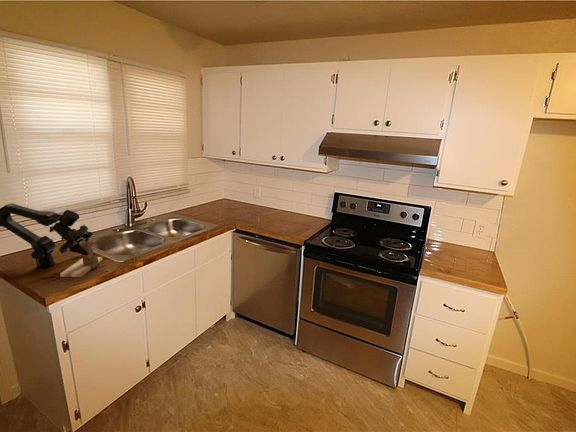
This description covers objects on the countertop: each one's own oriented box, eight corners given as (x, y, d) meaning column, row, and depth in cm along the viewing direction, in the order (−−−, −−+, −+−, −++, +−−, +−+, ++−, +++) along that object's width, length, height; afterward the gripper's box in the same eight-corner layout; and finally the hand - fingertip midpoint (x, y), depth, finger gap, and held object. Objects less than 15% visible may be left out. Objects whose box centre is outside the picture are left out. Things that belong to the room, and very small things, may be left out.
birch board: (60, 276, 153) (59, 273, 153) (83, 259, 172) (83, 256, 172) (81, 276, 154) (81, 273, 153) (102, 259, 173) (102, 257, 173)
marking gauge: (81, 268, 161) (77, 244, 157) (87, 264, 166) (83, 240, 162) (93, 268, 162) (89, 244, 158) (98, 264, 166) (95, 240, 163)
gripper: (61, 227, 148) (87, 250, 151) (87, 216, 166) (110, 237, 169) (47, 242, 151) (73, 264, 153) (75, 230, 169) (97, 250, 171)
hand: (89, 253), depth 162 cm, fingers closed on marking gauge, 4 cm apart
